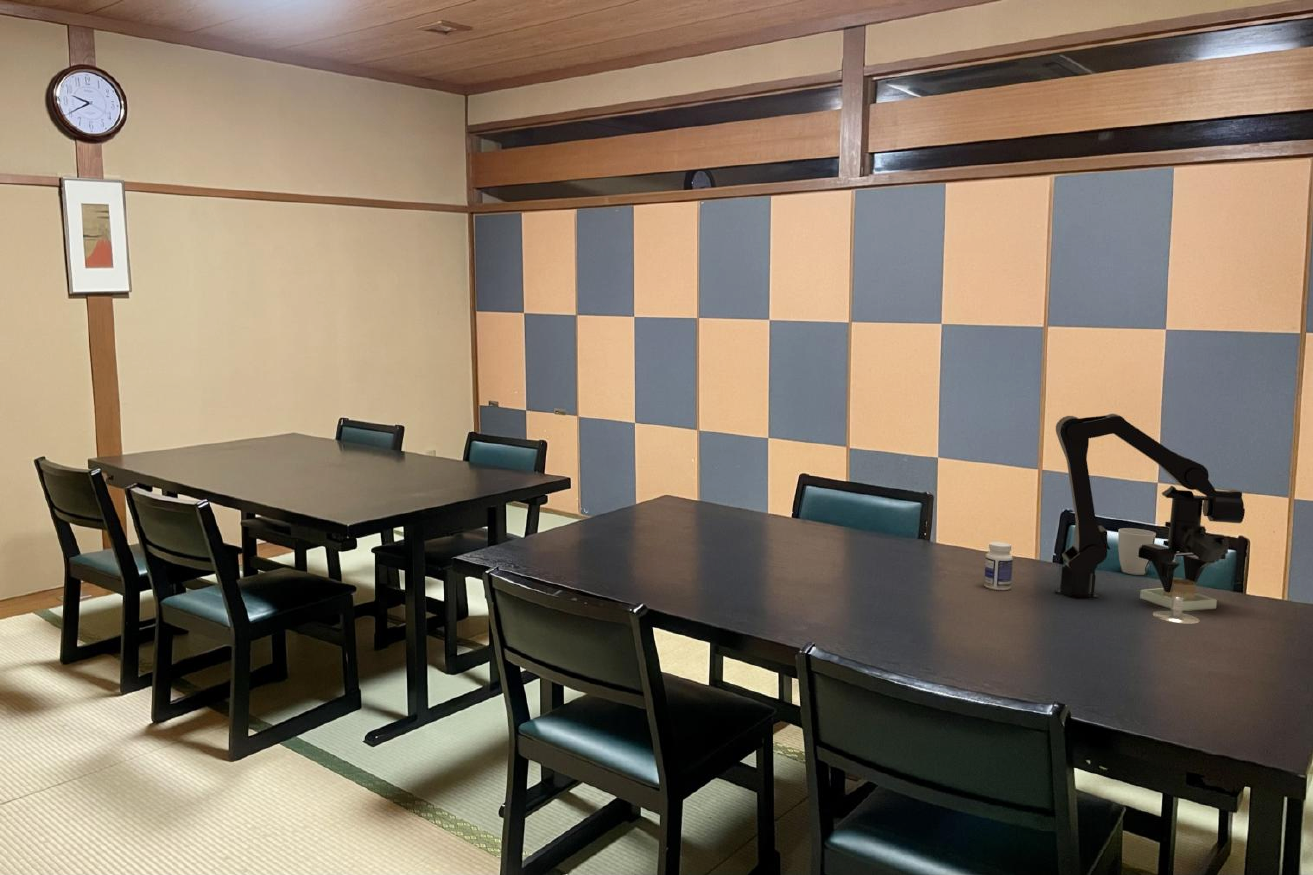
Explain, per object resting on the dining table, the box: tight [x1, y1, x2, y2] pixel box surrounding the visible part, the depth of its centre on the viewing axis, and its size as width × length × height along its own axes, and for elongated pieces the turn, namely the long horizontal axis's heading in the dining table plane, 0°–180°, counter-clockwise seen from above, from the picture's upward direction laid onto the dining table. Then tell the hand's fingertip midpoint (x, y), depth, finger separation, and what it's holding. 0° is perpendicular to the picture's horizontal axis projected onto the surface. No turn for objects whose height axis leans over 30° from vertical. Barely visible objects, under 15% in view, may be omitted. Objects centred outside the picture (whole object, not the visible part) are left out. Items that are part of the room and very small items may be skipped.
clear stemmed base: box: [1152, 596, 1200, 625], centre depth 200 cm, size 8×8×5 cm
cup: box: [1117, 527, 1157, 576], centre depth 238 cm, size 8×8×10 cm
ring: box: [1162, 576, 1197, 600], centre depth 210 cm, size 6×6×3 cm
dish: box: [1139, 587, 1218, 612], centre depth 210 cm, size 10×10×2 cm
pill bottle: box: [983, 541, 1014, 591], centre depth 220 cm, size 6×6×10 cm
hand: (1178, 591), depth 210 cm, fingers closed on ring, 6 cm apart
